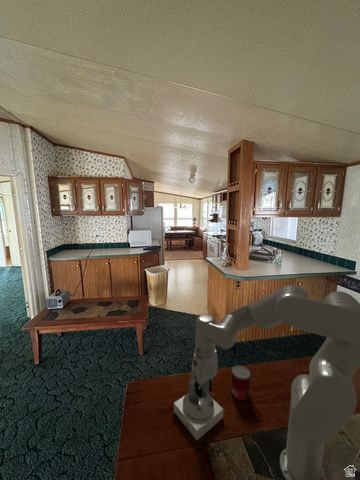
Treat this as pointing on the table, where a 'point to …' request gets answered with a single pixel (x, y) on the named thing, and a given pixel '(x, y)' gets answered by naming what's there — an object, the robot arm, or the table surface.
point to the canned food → (240, 382)
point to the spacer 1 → (193, 394)
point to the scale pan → (198, 407)
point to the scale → (198, 426)
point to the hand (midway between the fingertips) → (203, 391)
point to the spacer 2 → (205, 389)
